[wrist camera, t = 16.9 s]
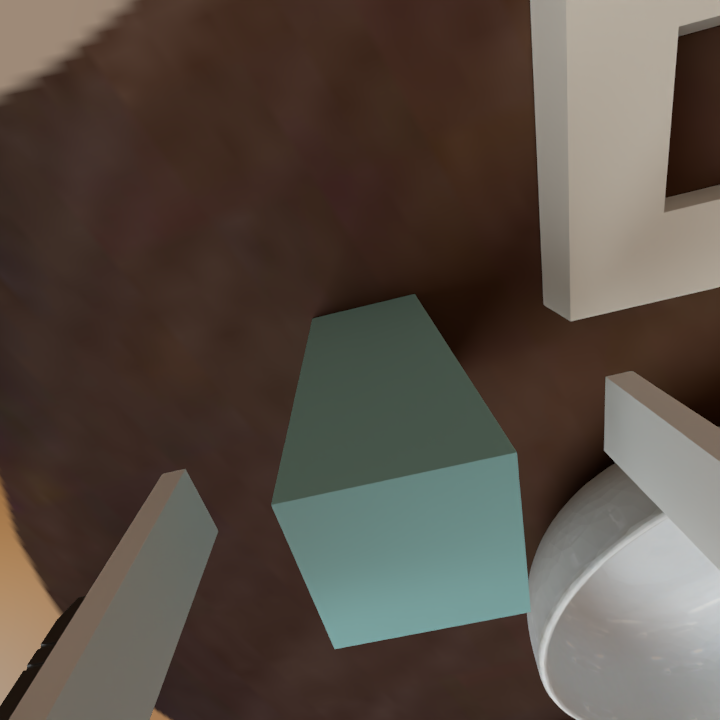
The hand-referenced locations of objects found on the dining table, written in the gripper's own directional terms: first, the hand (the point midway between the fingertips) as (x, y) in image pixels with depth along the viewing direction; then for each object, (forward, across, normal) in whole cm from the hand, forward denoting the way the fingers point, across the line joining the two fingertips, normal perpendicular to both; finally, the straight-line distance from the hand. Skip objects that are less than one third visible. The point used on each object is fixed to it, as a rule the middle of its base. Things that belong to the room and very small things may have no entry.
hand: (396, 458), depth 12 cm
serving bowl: (+9, -15, +16) cm, 23 cm away
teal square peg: (+8, 0, 0) cm, 8 cm away
